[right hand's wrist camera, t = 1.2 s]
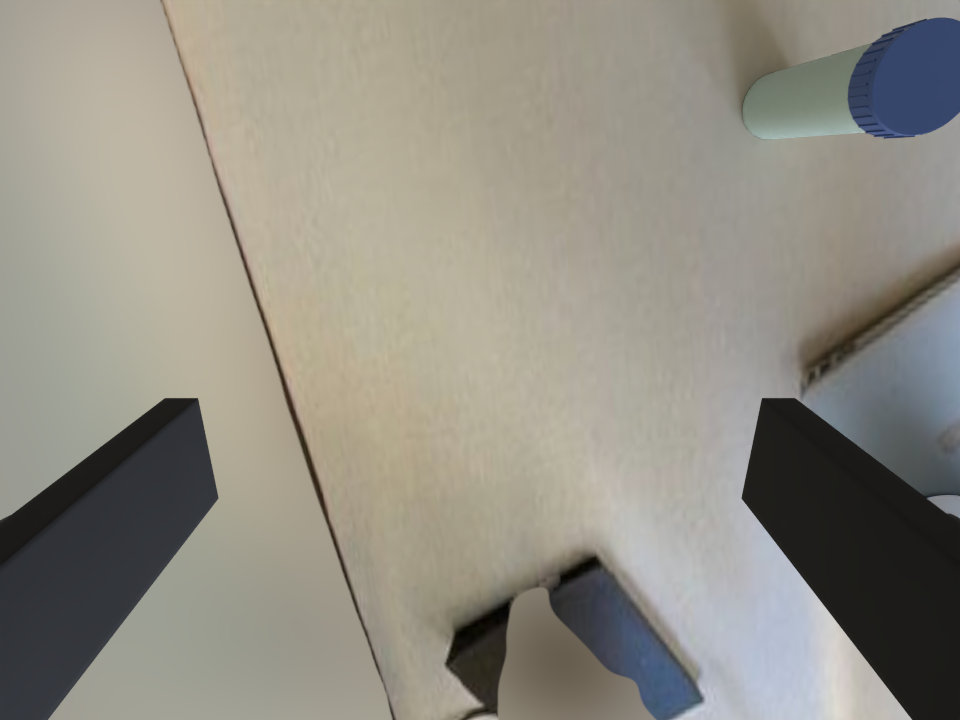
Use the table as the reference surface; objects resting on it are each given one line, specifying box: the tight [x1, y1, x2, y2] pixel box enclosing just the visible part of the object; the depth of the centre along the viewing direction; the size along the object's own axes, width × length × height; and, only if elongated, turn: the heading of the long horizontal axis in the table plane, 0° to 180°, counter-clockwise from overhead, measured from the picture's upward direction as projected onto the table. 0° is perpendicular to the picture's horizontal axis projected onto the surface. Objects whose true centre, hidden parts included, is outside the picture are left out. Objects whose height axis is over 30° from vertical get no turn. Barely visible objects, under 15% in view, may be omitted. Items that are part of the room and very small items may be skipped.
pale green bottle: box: [742, 43, 872, 139], centre depth 39 cm, size 5×5×17 cm
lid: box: [847, 18, 960, 138], centre depth 32 cm, size 6×6×2 cm
